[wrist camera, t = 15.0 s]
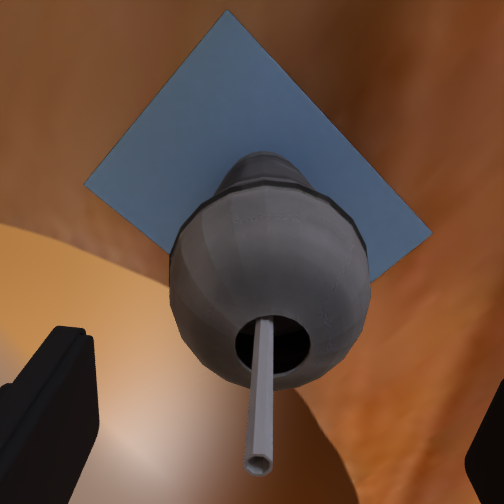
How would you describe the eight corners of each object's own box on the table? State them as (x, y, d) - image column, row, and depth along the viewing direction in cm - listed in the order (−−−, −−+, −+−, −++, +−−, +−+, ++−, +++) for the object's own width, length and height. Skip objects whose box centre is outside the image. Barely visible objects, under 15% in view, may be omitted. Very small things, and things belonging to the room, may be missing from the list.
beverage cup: (230, 256, 28) (183, 643, 9) (183, 153, 25) (-14, 422, 7) (337, 220, 26) (517, 578, 8) (300, 106, 23) (454, 276, 5)
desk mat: (430, 230, 27) (433, 233, 27) (286, 346, 31) (287, 350, 31) (227, 9, 22) (226, 8, 21) (85, 182, 26) (82, 184, 25)
